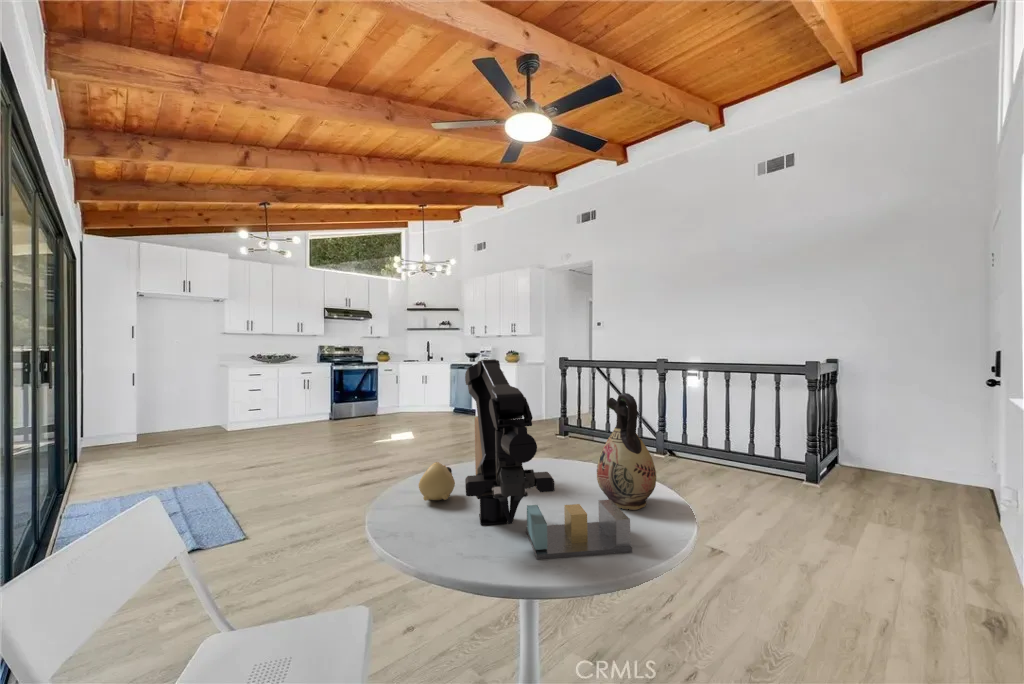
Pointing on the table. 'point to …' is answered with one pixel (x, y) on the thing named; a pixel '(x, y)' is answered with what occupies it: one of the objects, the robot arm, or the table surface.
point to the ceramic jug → (626, 459)
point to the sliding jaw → (537, 527)
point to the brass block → (575, 523)
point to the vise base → (590, 536)
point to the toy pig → (437, 482)
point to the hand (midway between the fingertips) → (509, 523)
